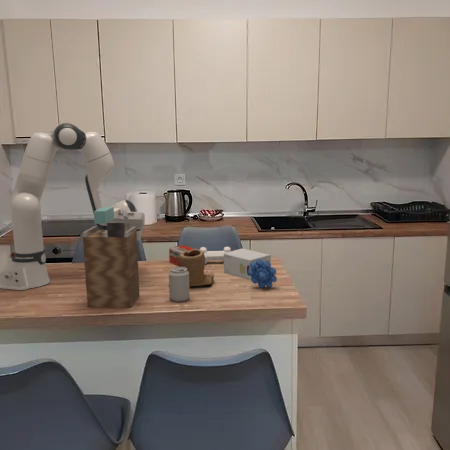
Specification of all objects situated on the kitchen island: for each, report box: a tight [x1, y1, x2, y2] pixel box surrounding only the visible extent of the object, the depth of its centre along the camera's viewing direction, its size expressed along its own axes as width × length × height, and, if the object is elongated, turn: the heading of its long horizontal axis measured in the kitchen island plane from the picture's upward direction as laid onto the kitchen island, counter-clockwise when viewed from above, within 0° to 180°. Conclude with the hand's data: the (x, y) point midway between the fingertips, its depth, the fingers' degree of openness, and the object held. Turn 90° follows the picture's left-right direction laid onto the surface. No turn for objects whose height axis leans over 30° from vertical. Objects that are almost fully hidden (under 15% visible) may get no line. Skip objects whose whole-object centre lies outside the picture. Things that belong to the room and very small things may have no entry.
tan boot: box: [179, 248, 215, 287], centre depth 192 cm, size 15×12×15 cm
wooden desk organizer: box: [82, 223, 140, 309], centre depth 173 cm, size 16×12×31 cm
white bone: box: [199, 246, 232, 265], centre depth 226 cm, size 15×9×8 cm, turn 92°
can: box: [168, 266, 191, 303], centre depth 176 cm, size 8×8×12 cm
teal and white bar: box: [93, 206, 121, 225], centre depth 178 cm, size 4×20×4 cm, turn 175°
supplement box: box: [223, 247, 272, 281], centre depth 209 cm, size 17×13×9 cm
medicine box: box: [168, 244, 194, 267], centre depth 225 cm, size 15×8×8 cm, turn 35°
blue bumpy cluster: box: [248, 259, 278, 289], centre depth 187 cm, size 12×7×12 cm, turn 85°
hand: (114, 211), depth 184 cm, fingers closed on teal and white bar, 3 cm apart
